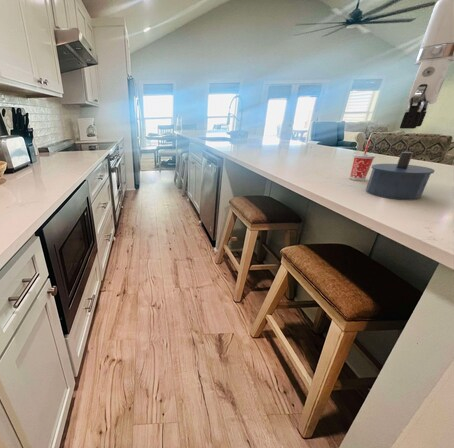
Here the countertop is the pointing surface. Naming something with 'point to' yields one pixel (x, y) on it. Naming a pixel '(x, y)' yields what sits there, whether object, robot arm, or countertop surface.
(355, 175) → the beverage cup
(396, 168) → the pot lid
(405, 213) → the countertop surface
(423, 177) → the pot
